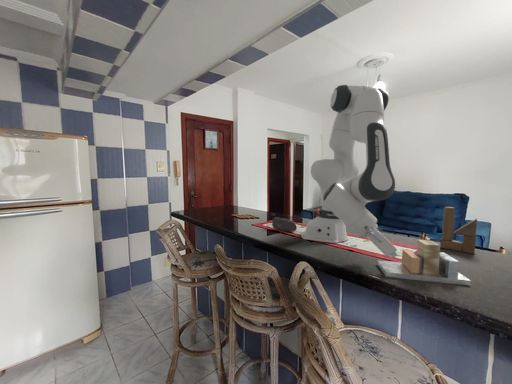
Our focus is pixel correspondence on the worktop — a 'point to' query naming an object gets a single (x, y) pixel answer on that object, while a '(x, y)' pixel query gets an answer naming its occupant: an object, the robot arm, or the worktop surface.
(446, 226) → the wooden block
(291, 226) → the perforated stone tool
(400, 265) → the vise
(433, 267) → the beech block
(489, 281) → the worktop surface
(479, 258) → the worktop surface
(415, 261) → the block
